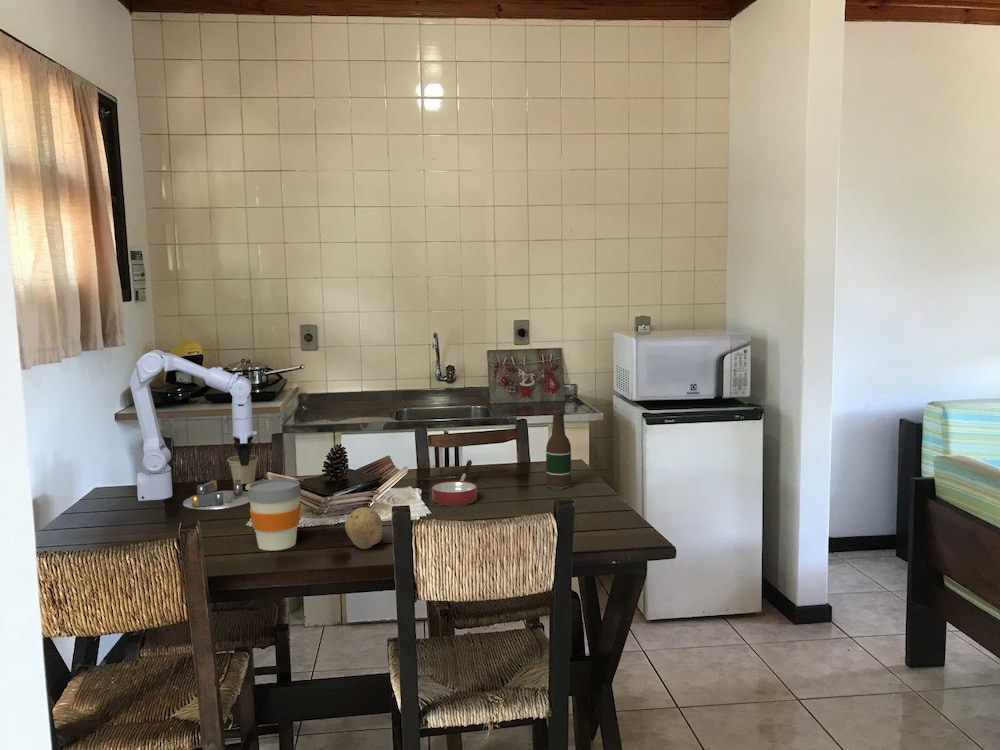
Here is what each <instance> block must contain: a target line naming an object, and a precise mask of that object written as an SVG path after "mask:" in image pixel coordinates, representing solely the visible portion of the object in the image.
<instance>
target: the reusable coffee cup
mask: <svg viewBox="0 0 1000 750" xmlns="http://www.w3.org/2000/svg"><path fill="white" fill-rule="evenodd" d="M247 492H248V499H249V500H250V502H249V504H250V508H249V514H250V519H251V520H250V521H251V525H252V529H254V530H255V536H256V542H257V547H258V548H259V549H260V550H262V551H271V552H272V551H282V550H286V549H289V548H292V547H294V546H296V543H297V535H298V533H297V532H298V531H297V530H298V525H299V524H300V518H301V503H300V500H301V499H300V497H301V496H302V490H301V483H300V482H299V480H298V479H291V478H270V479H264V480H258V481H254V482H252V483H249V485H248V488H247Z"/></svg>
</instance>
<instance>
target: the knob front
mask: <svg viewBox="0 0 1000 750" xmlns="http://www.w3.org/2000/svg"><path fill="white" fill-rule="evenodd" d="M191 497H192V507H199V506H210V505H222V504H224V500H223V493H222V492H219V493H215V494H208V495H198V494H197V495H196V494H195V495H192V496H191Z"/></svg>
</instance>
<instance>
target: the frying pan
mask: <svg viewBox="0 0 1000 750" xmlns="http://www.w3.org/2000/svg"><path fill="white" fill-rule="evenodd" d="M472 464H473V461H472V460H471V459H468V460H467V462H466V464H465V467H464V469H463V470H462V473H461V478H460V479H459V480H449V481H448V480H446V481H441V482H438V483H437V482H436V483H434V484H433V485H432V486H431V501H432V500H433V501H434V502H436V503H441V504H463V503H468V502H472V501H474V500H476V499H477V500H478V485H477V484H476V483H475V482H471V481H466V480H465V479H466V477H467V476H468V474H469V471H470V469H471V467H472ZM477 500H476V501H477ZM433 501H432V502H433Z"/></svg>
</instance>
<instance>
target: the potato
mask: <svg viewBox="0 0 1000 750" xmlns="http://www.w3.org/2000/svg"><path fill="white" fill-rule="evenodd" d="M344 529H345V532H346V534H347V536H348V538H349V539H350V540H351V542H352V544H354V546H356V547H357V548H359V549H360V550H368V549H371V548H372V547H373V546H374V545H376V544H378V543H379V542H381V539H382V537H383V522H382V518H381V516H380V514H378V512H377V511H375V510H374V509H371V508H370V507H366V506H362V507H361V506H360V507H358V508H356V509H354V510H353V511H352V512H351V513H350V514H349V515H347V518H346V520H345V523H344Z"/></svg>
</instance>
